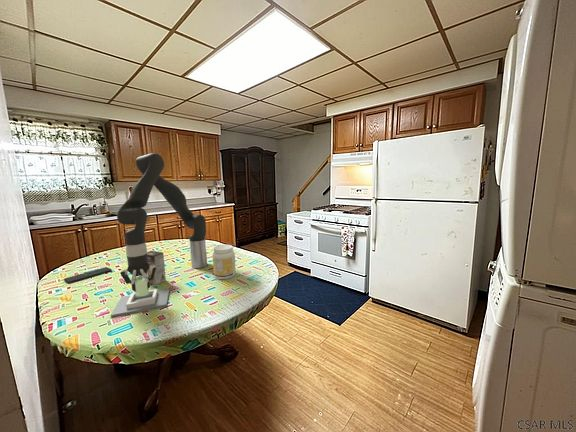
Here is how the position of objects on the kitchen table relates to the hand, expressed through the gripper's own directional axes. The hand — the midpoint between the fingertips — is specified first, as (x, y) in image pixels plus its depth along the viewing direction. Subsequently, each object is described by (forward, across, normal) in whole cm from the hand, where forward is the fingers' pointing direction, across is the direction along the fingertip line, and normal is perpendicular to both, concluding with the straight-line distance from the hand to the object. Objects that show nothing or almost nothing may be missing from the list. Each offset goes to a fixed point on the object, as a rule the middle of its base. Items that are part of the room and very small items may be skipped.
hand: (141, 289), depth 103 cm
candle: (+2, 0, 0) cm, 2 cm away
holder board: (+6, 0, 0) cm, 6 cm away
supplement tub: (+6, -38, -15) cm, 41 cm away
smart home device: (+7, +35, -48) cm, 60 cm away
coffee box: (+6, -2, -23) cm, 24 cm away
